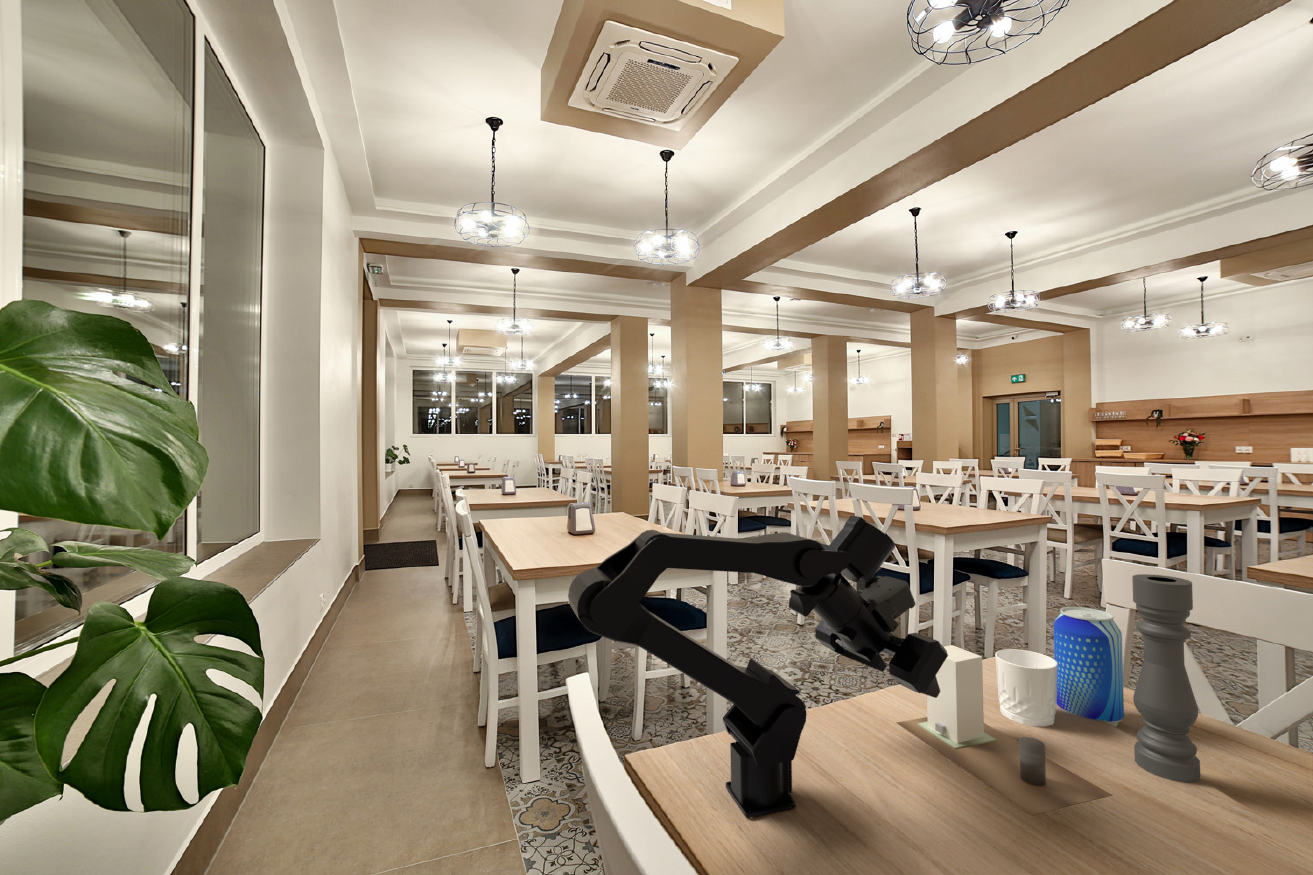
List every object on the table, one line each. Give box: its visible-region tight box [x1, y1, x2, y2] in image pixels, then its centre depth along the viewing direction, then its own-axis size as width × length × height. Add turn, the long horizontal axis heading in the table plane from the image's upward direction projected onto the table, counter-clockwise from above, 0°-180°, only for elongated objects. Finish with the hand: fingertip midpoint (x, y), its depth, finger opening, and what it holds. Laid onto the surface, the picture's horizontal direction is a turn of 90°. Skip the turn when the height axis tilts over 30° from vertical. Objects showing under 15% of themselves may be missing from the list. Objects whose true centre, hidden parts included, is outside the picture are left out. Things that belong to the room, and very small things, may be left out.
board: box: [896, 716, 1113, 816], centre depth 75 cm, size 12×22×6 cm, turn 16°
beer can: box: [1053, 606, 1125, 727], centre depth 88 cm, size 8×8×16 cm
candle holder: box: [1132, 573, 1201, 783], centre depth 72 cm, size 6×6×25 cm
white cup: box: [994, 648, 1058, 727], centre depth 86 cm, size 8×8×10 cm
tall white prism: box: [926, 644, 985, 743], centre depth 81 cm, size 6×5×11 cm
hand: (909, 680), depth 77 cm, fingers open, 9 cm apart
